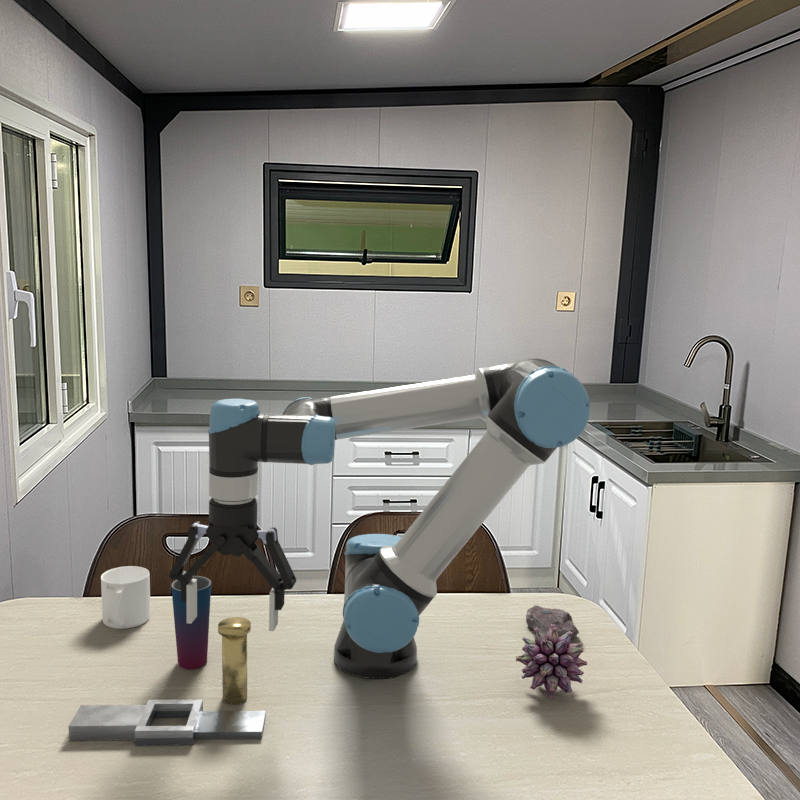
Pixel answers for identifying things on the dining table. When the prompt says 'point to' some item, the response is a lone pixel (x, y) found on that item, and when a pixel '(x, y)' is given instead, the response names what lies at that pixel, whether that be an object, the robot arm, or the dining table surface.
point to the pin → (234, 659)
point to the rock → (550, 620)
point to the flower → (552, 661)
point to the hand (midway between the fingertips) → (232, 623)
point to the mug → (125, 597)
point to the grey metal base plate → (139, 720)
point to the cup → (192, 625)
